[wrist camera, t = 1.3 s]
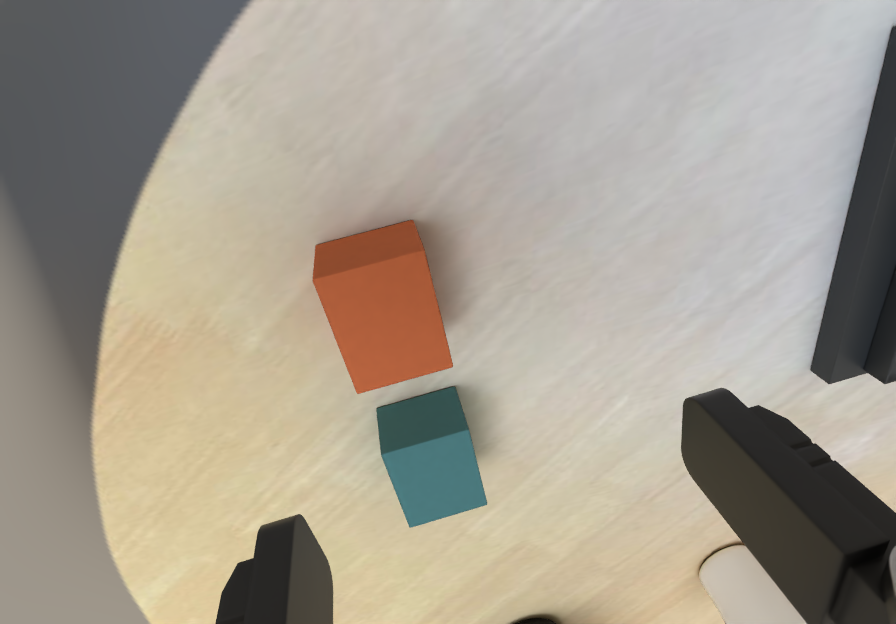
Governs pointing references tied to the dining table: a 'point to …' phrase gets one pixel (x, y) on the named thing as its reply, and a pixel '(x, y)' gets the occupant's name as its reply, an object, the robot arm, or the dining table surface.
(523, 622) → the beverage can
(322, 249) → the orange block
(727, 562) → the drinking glass
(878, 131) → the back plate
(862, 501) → the robot arm
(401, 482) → the teal rectangular block
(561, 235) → the dining table surface
